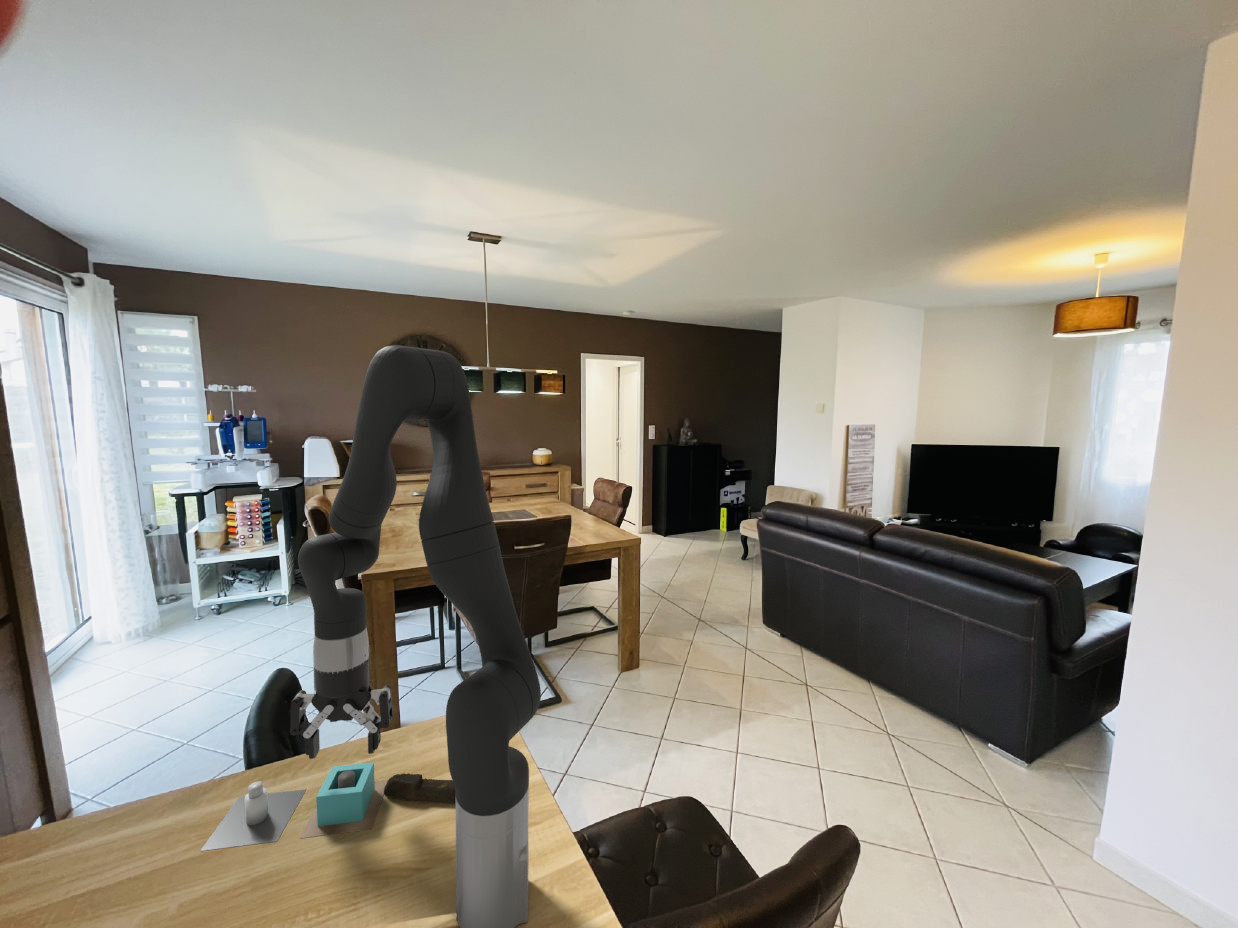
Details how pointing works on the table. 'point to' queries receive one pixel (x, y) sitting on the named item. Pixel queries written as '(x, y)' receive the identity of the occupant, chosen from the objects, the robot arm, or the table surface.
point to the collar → (345, 795)
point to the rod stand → (314, 830)
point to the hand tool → (420, 789)
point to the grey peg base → (255, 818)
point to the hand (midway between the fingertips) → (344, 752)
